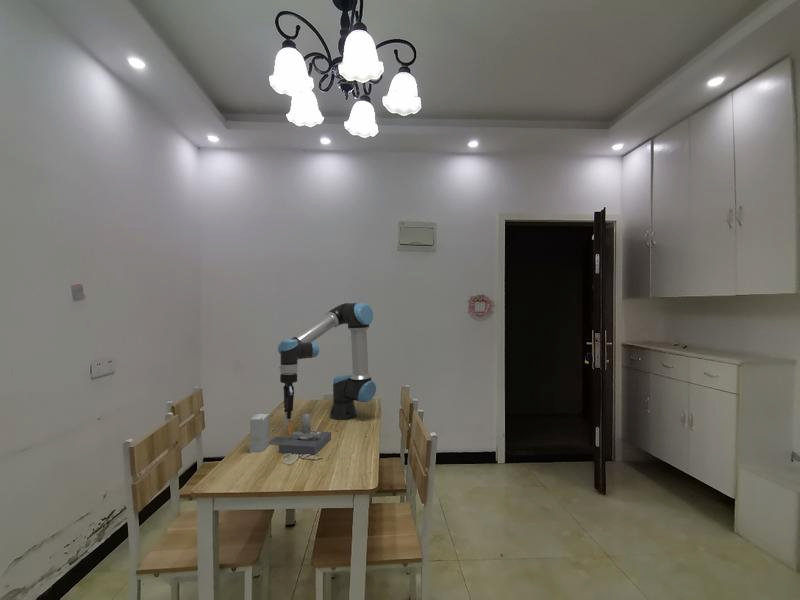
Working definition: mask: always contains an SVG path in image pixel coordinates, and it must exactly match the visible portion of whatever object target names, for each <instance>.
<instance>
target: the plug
mask: <svg viewBox="0 0 800 600" xmlns="http://www.w3.org/2000/svg"><path fill="white" fill-rule="evenodd" d="M301 430H302V433H312V432H310V431H311V413H309V412H305V413H302V415H301ZM313 437H314V436H298V438H299V439H301V440H309V441H310V440H311V439H312V438H313Z"/></svg>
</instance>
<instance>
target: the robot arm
mask: <svg viewBox="0 0 800 600" xmlns="http://www.w3.org/2000/svg"><path fill="white" fill-rule="evenodd" d="M373 319H374V311H373V310H372V308H371V306H370V305H369V304H367V303H366V302H365V303H362V302H353V303H352V302H350V303H349V302H346V303H342V304H338V305H337V306H335V307H334V308H332V309H330V310H329V311H327V312H326V313H325V316H323V317H322V318H320V319H318V320H316V322H314V323H312V324H310V325H309V326H307V328H305V329H304V330H302V331H301V332H299V333H297V334H296V335H295V336H293V337H292V338H289V339H288V338H287V339H286V338H285V339H282V340H281V342H279V344H278V345H277V351H278V353H279V355H280V366H279V367H278V369H279V370H280V372H279V373H280V376H279V380H280V381H279V382H280V383H282V384H284V385H283V387H282V388H283V408H284V427H289V421H290V420H292V421H293V417H292V416H293V415H292V414H293V411H294V398H295V397H294V396H295V387H294V385H293V384H294V383H297V382H298V370H299V369H298V368H299V367H298V365H299V364H298V363H299V362H298V361H299V360H302V359H303V360H304V359H312V358H316V357H317V356H318V355H319V353H320V347H319V344H318V343H317V342H314V341H315V340H317V339H318V338H320V337H321V336H323V335H324V334H326V333H327V332H328V331H330V330H331V329H333V328H337V327H339V326H342V325H347V329H348V330H349V331H350V340H351V361H352V363H351V365H352V374H346V375H338V376H335V377H334V378H333V383H332V394H333V395H332V398H333V399H332V400H333V401H332V406H331V409H330V413H329V418H330V419H333V420H343V419H345V420H351V418H352V419H355V418H357V415H358V414H357V413H358V412H357V409H356V405H355V402H354V401H356V402H360V403H368V402H370V401H372V400H373V399H374V397H375V395H376V392H377V385H376V383H375V382H374V381H373V380H372V375H371V374H370V373H369V362H368V361H369V359H368V337H367V336H368V335H367V330H368V329H369V328H370V325H371V323H372V322H373ZM354 417H355V418H354Z"/></svg>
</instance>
